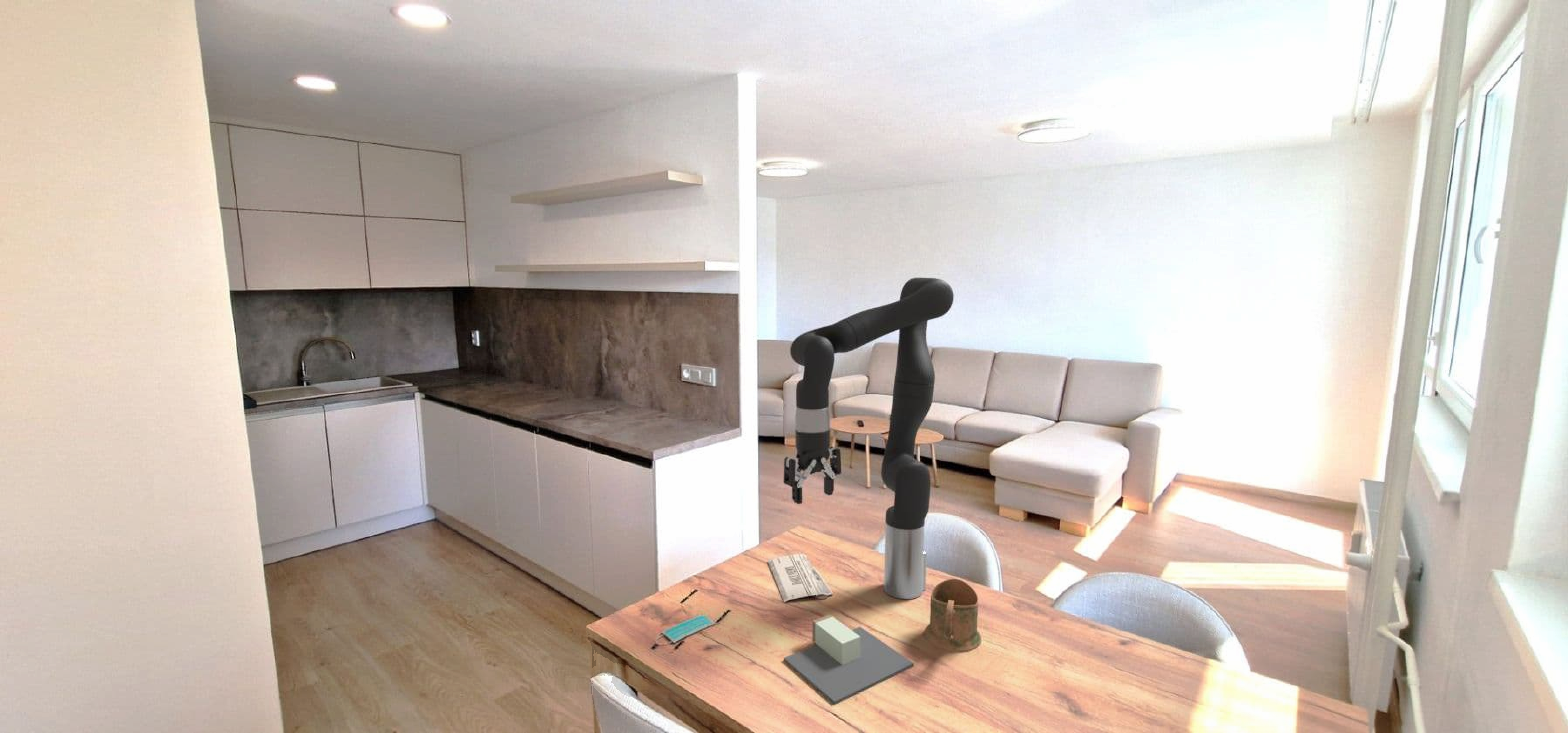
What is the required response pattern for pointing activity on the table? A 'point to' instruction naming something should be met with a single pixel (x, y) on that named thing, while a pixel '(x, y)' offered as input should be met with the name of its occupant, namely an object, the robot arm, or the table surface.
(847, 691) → the mat
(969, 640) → the mug
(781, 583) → the newspaper
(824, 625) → the block
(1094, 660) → the table surface
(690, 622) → the surgical mask
